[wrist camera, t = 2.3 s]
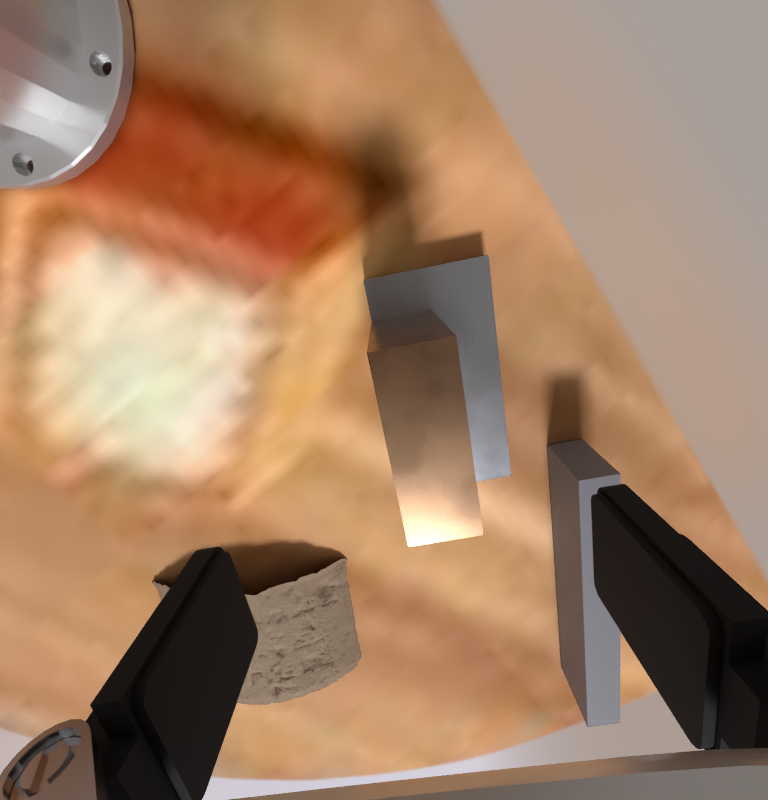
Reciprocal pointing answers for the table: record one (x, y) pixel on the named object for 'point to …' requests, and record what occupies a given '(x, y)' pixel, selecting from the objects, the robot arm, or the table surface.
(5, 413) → the table surface
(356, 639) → the clay tablet
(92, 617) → the table surface
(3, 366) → the table surface
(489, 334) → the brown block stand
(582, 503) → the rail
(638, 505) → the robot arm
